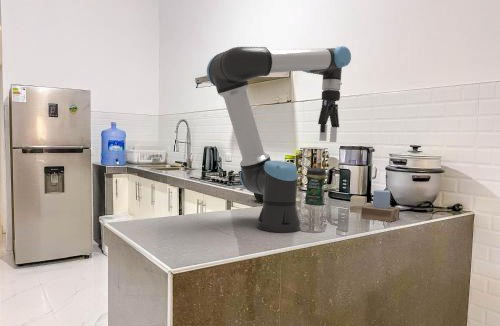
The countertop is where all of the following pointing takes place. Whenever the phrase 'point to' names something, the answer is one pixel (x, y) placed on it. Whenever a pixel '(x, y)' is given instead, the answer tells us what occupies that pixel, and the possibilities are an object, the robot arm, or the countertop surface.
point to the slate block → (381, 199)
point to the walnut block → (380, 213)
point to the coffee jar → (315, 186)
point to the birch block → (357, 203)
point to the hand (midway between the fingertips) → (328, 141)
